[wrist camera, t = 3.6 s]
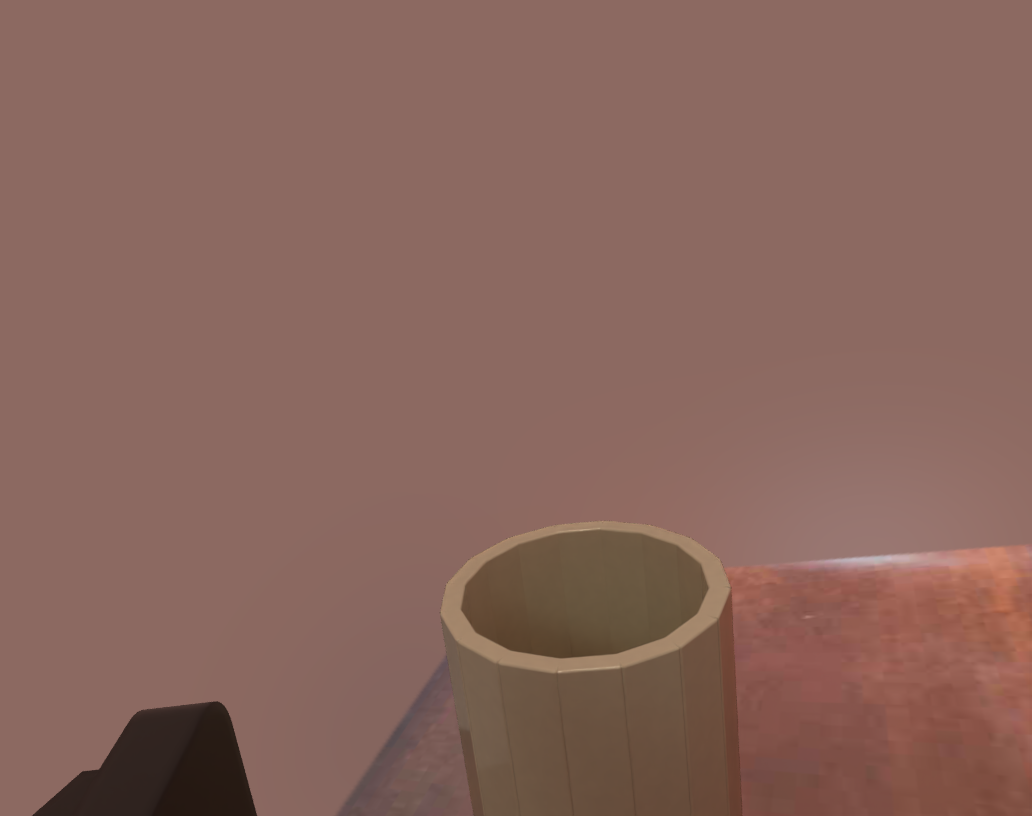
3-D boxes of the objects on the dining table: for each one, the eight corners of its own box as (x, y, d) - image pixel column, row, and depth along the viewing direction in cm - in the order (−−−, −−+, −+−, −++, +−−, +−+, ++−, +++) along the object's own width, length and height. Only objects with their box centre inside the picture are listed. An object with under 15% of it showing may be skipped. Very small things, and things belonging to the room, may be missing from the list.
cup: (552, 1083, 20) (496, 709, 17) (464, 870, 26) (410, 564, 23) (799, 964, 22) (790, 609, 19) (665, 791, 28) (641, 499, 25)
